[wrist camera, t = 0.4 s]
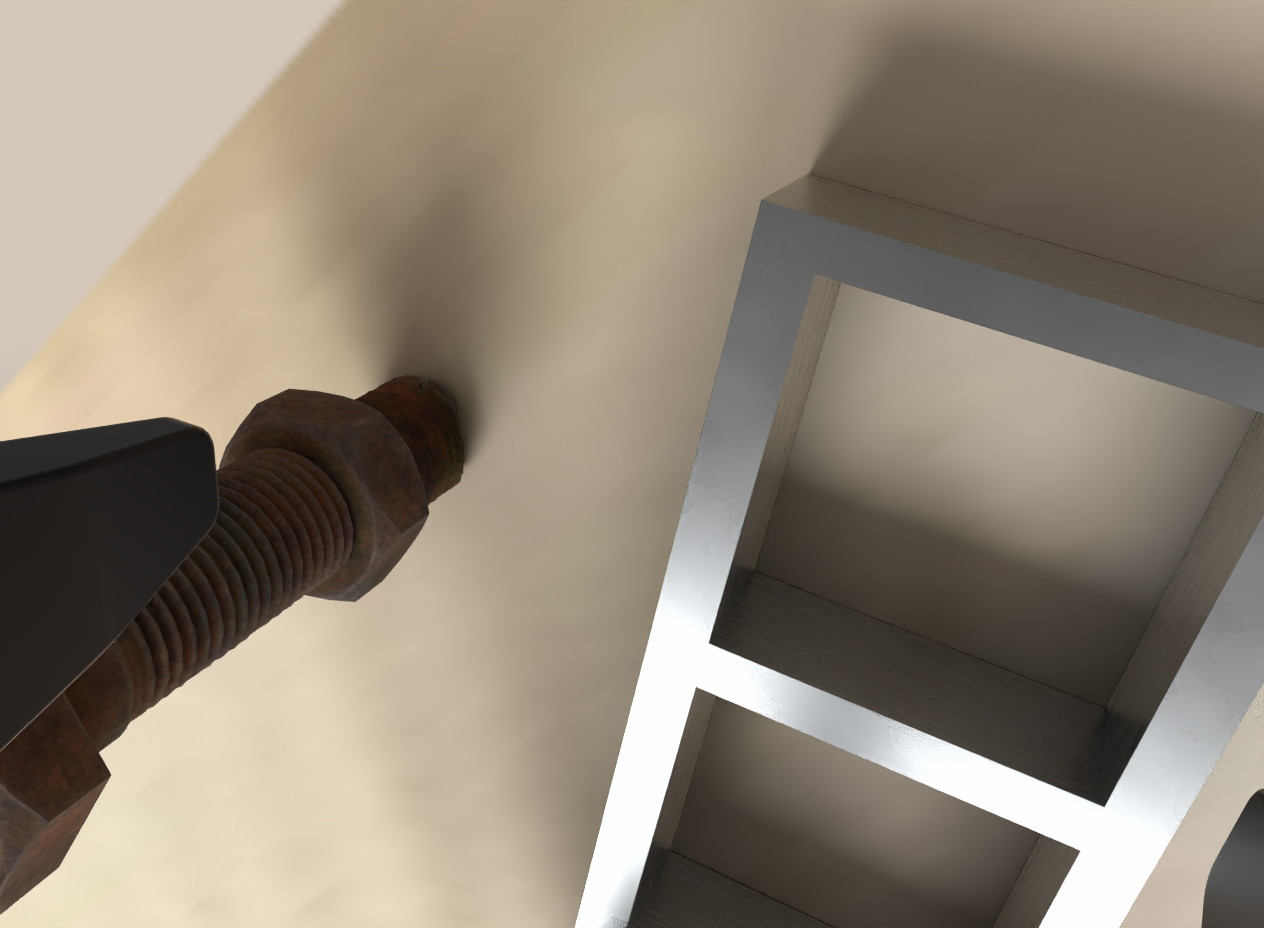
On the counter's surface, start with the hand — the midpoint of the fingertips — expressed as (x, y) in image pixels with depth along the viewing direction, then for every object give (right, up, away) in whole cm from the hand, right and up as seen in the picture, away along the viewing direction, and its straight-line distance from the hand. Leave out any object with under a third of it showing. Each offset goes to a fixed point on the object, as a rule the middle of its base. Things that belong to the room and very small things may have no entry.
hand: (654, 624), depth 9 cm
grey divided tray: (+6, -3, +17) cm, 18 cm away
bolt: (-5, +2, +20) cm, 21 cm away
